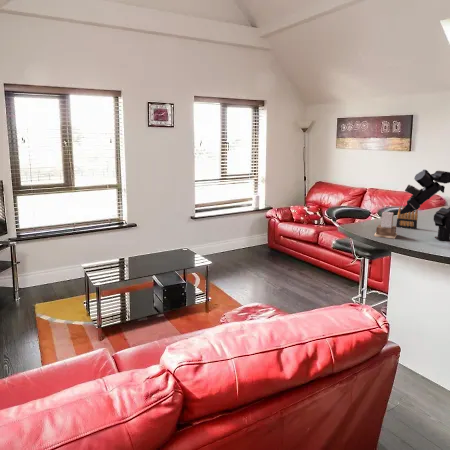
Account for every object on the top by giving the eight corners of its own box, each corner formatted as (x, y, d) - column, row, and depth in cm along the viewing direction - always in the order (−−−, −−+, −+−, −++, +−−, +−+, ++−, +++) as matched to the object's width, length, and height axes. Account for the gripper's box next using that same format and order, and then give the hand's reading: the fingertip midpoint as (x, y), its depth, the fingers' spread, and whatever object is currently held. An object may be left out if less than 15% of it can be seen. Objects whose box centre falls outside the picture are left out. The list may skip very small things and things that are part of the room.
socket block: (397, 234, 225) (398, 226, 224) (394, 238, 217) (395, 230, 216) (377, 232, 230) (378, 224, 229) (374, 236, 221) (374, 227, 220)
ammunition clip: (396, 227, 244) (398, 206, 241) (396, 226, 245) (398, 205, 243) (416, 229, 239) (418, 207, 236) (416, 228, 241) (418, 207, 238)
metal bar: (391, 233, 224) (393, 212, 222) (390, 235, 220) (392, 214, 217) (381, 232, 226) (383, 211, 224) (380, 234, 222) (382, 213, 220)
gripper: (418, 178, 220) (393, 197, 227) (414, 181, 204) (388, 202, 211) (433, 194, 218) (407, 213, 225) (431, 199, 202) (403, 219, 209)
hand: (401, 211), depth 218 cm, fingers open, 9 cm apart
